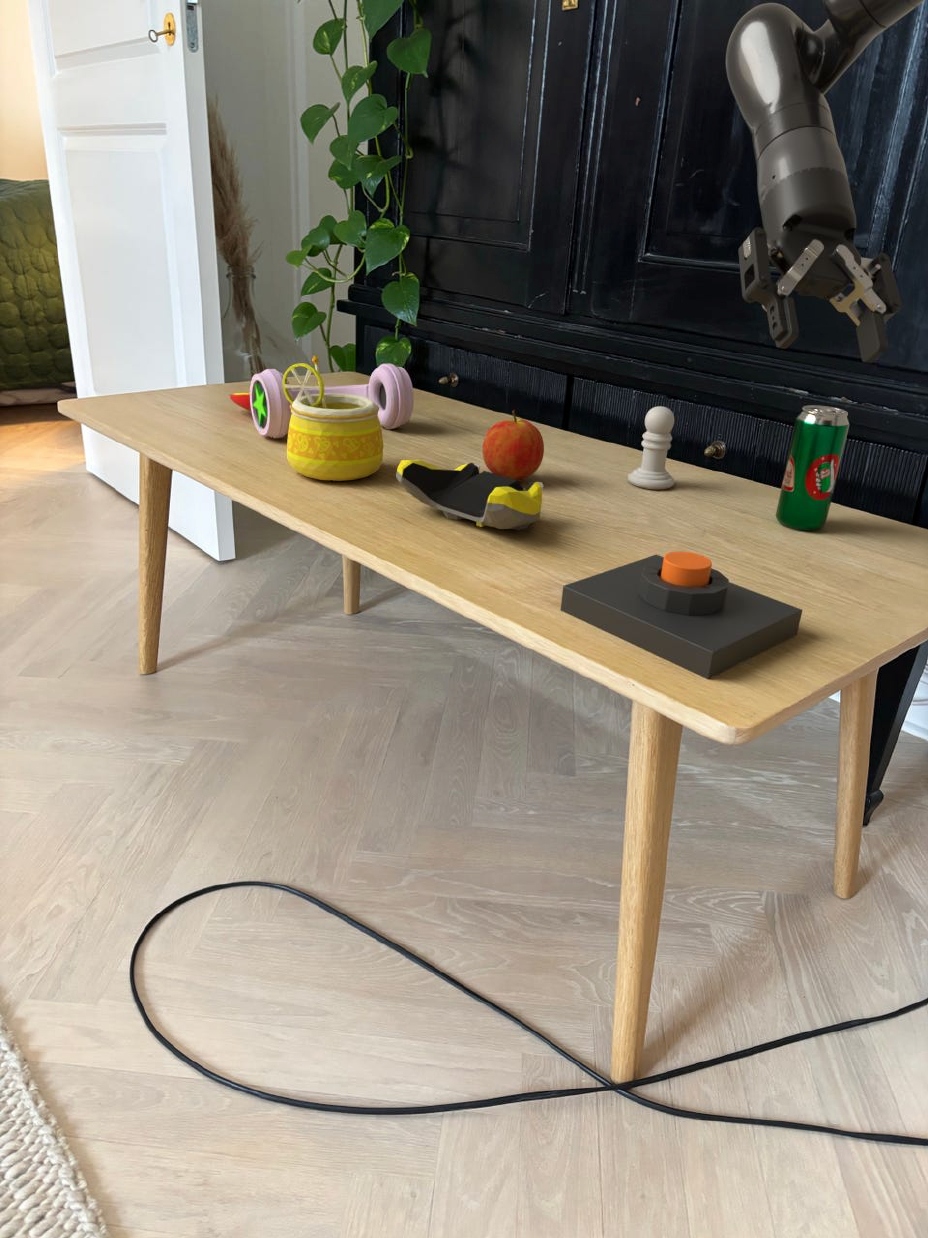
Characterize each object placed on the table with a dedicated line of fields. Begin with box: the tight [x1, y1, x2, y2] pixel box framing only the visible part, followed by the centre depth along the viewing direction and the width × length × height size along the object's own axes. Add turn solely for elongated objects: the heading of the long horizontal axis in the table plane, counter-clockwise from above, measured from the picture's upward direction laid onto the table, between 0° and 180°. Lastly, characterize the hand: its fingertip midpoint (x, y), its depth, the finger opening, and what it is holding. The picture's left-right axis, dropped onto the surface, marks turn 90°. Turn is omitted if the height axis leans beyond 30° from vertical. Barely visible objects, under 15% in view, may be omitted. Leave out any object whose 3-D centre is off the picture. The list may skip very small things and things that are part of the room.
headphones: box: [229, 363, 415, 439], centre depth 122 cm, size 20×10×20 cm
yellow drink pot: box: [282, 355, 384, 482], centre depth 102 cm, size 13×11×12 cm
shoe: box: [395, 459, 544, 531], centre depth 90 cm, size 15×6×10 cm
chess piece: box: [627, 405, 675, 491], centre depth 104 cm, size 5×5×9 cm
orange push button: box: [661, 550, 713, 587], centre depth 70 cm, size 4×4×2 cm
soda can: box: [775, 404, 850, 532], centre depth 93 cm, size 5×5×12 cm
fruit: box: [482, 409, 545, 482], centre depth 103 cm, size 7×7×8 cm
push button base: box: [560, 554, 803, 680], centre depth 71 cm, size 14×12×4 cm
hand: (832, 350), depth 77 cm, fingers open, 8 cm apart
